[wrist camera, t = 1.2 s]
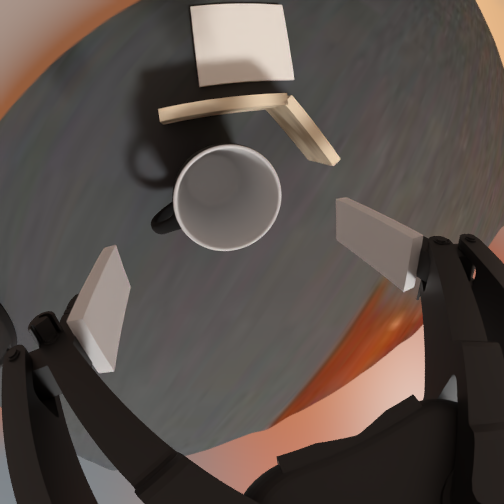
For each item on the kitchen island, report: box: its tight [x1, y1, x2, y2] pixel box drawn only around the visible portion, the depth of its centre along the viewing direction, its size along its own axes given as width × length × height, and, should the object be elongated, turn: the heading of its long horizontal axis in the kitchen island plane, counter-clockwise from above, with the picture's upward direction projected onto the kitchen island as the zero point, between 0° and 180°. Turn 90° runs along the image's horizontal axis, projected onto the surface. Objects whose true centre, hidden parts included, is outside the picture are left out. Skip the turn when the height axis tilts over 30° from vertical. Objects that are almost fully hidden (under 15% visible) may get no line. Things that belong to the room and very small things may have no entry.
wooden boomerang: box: [158, 93, 340, 166], centre depth 26 cm, size 18×8×6 cm, turn 97°
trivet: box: [190, 4, 294, 87], centre depth 24 cm, size 11×11×1 cm
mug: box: [151, 143, 281, 251], centre depth 26 cm, size 12×9×10 cm
